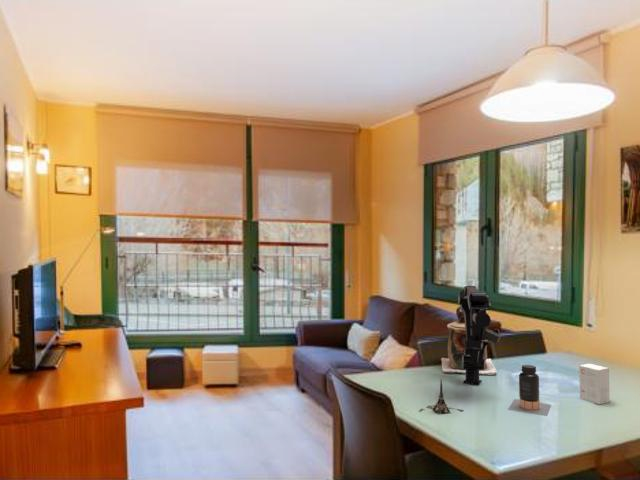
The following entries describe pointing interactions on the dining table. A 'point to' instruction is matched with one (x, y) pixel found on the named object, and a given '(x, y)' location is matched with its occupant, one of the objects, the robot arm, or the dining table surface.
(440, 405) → the eiffel tower figurine
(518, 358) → the dining table surface
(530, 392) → the supplement bottle
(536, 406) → the terracotta bowl
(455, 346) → the cookie jar
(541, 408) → the slate mat
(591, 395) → the small box
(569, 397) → the dining table surface
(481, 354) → the robot arm
